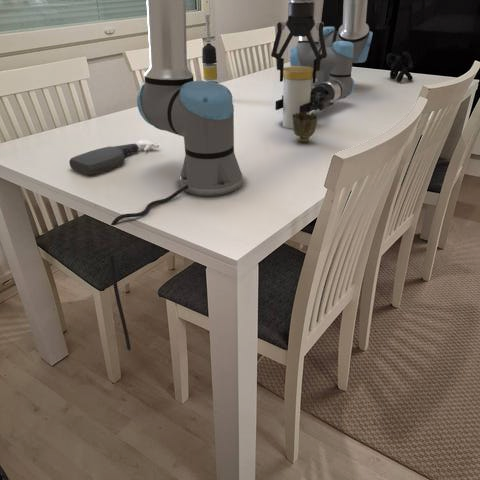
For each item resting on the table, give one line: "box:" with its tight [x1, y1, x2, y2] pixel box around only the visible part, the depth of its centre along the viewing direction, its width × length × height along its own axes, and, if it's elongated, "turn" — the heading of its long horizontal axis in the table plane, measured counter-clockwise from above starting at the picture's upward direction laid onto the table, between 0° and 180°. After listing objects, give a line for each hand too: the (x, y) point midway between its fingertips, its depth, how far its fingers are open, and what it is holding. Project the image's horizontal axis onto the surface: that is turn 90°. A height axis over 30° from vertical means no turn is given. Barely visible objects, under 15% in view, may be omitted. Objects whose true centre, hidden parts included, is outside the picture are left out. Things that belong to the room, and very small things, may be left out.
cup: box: [292, 111, 319, 144], centre depth 132 cm, size 8×7×8 cm
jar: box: [282, 77, 312, 130], centre depth 144 cm, size 9×9×17 cm
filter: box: [201, 14, 219, 84], centre depth 171 cm, size 6×6×30 cm
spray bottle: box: [68, 139, 160, 177], centre depth 124 cm, size 3×11×24 cm
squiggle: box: [385, 51, 414, 83], centre depth 198 cm, size 11×10×15 cm
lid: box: [283, 65, 313, 80], centre depth 140 cm, size 10×10×2 cm
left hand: (297, 81), depth 141 cm, fingers closed on lid, 10 cm apart
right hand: (288, 108), depth 142 cm, fingers closed on jar, 9 cm apart
